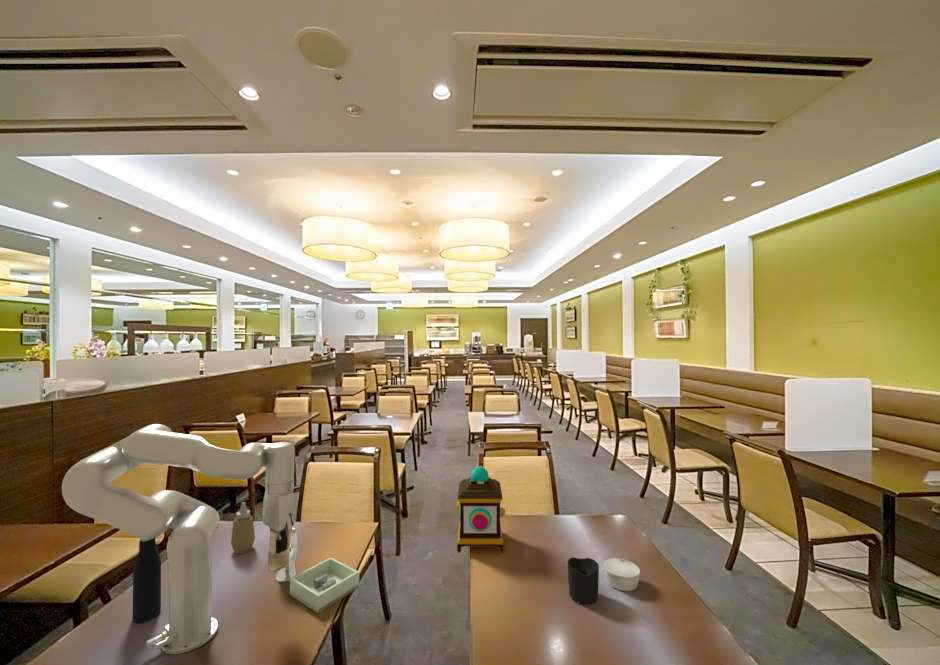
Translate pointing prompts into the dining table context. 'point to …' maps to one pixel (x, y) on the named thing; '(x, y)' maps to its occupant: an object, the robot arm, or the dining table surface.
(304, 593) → the pale green prong tray
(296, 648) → the dining table surface
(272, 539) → the upright wooden plank
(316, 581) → the wick clip
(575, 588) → the pen holder
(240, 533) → the squeeze bottle
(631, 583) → the ramekin
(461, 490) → the decorative lantern
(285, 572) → the metal tumbler
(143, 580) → the wine bottle
